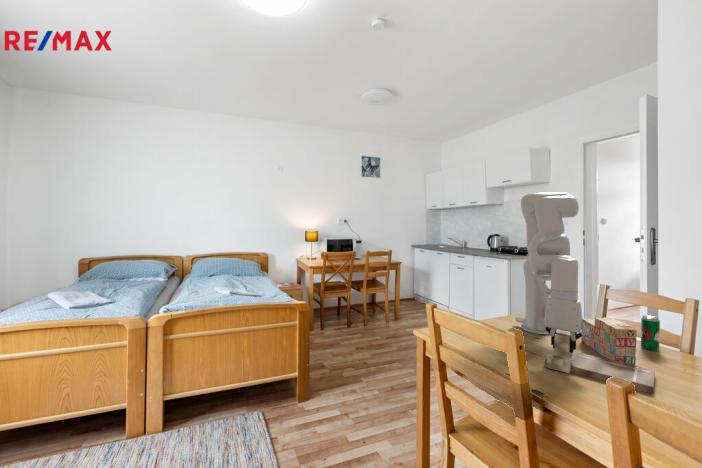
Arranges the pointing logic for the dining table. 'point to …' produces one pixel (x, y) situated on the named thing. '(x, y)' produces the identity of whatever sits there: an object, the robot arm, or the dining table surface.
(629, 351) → the stack of blocks
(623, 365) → the board
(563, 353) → the beige block
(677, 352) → the dining table surface
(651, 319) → the soda can
